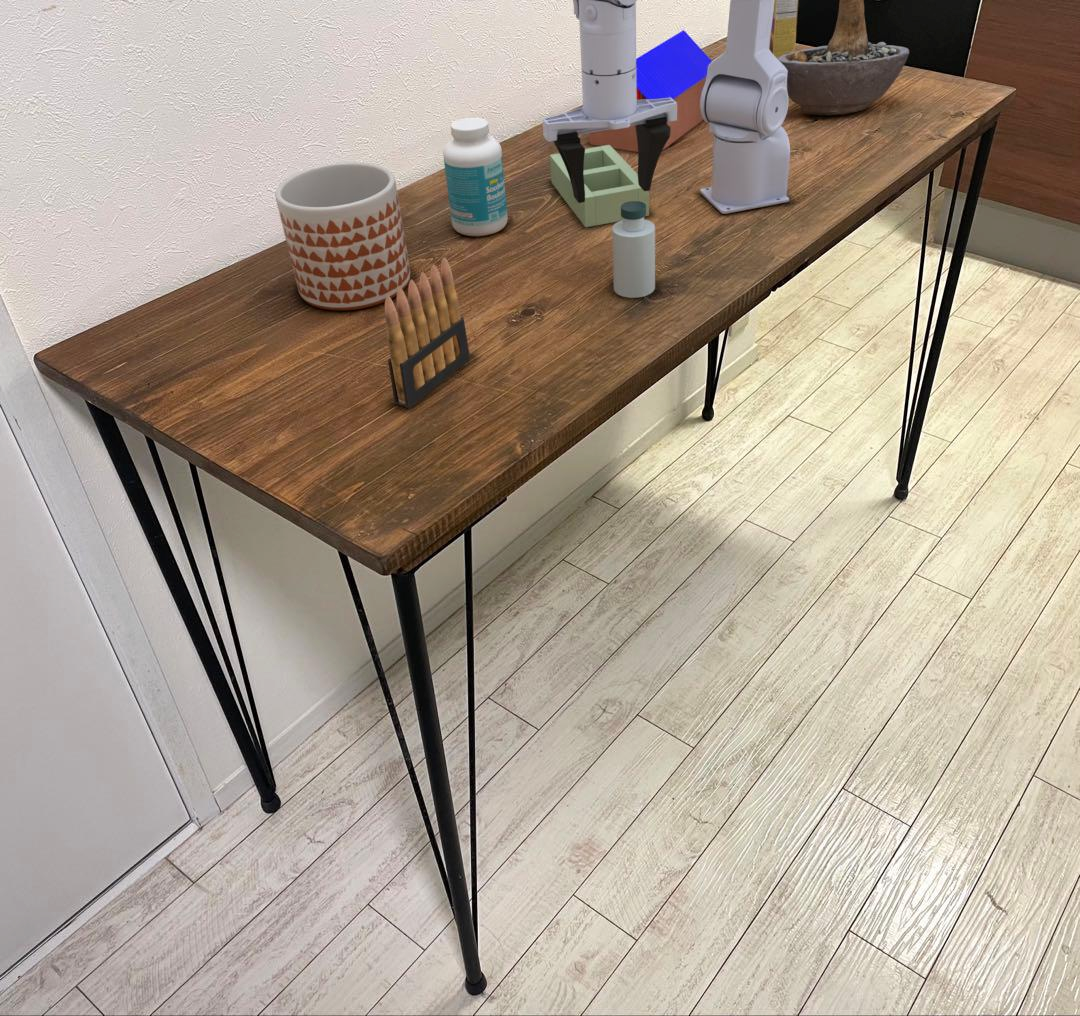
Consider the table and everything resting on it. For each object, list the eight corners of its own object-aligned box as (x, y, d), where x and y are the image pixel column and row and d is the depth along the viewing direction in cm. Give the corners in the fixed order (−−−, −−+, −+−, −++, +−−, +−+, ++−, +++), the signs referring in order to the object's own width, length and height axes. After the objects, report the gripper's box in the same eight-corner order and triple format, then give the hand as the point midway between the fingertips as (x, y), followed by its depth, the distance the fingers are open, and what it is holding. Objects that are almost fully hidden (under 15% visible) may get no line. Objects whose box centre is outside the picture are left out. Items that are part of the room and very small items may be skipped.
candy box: (756, 57, 181) (762, -39, 172) (780, 54, 181) (787, -41, 172) (769, 72, 175) (776, -26, 165) (794, 69, 175) (802, -29, 165)
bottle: (646, 275, 121) (646, 194, 115) (661, 293, 117) (661, 210, 111) (608, 282, 120) (605, 201, 114) (621, 301, 117) (619, 218, 110)
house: (716, 111, 162) (719, 33, 154) (657, 156, 149) (657, 73, 142) (649, 102, 167) (649, 26, 160) (586, 144, 155) (583, 64, 147)
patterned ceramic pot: (379, 318, 117) (359, 213, 109) (277, 305, 122) (251, 203, 113) (429, 265, 127) (414, 164, 119) (334, 254, 131) (313, 157, 123)
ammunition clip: (457, 354, 110) (442, 251, 102) (470, 358, 109) (457, 255, 102) (394, 404, 103) (373, 298, 96) (408, 409, 103) (388, 302, 95)
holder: (610, 172, 146) (609, 144, 143) (649, 215, 134) (649, 186, 131) (551, 182, 144) (549, 154, 142) (585, 227, 132) (583, 198, 130)
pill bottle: (501, 239, 131) (490, 134, 123) (446, 238, 133) (431, 134, 124) (514, 215, 137) (504, 113, 128) (461, 213, 138) (448, 113, 130)
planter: (766, 119, 157) (776, -23, 145) (820, 87, 167) (834, -49, 154) (855, 137, 149) (874, -12, 137) (906, 102, 159) (928, -40, 146)
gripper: (551, 89, 102) (559, 218, 110) (688, 67, 104) (685, 195, 113) (534, 69, 107) (542, 194, 116) (664, 49, 109) (663, 173, 118)
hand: (612, 193), depth 114 cm, fingers open, 7 cm apart
